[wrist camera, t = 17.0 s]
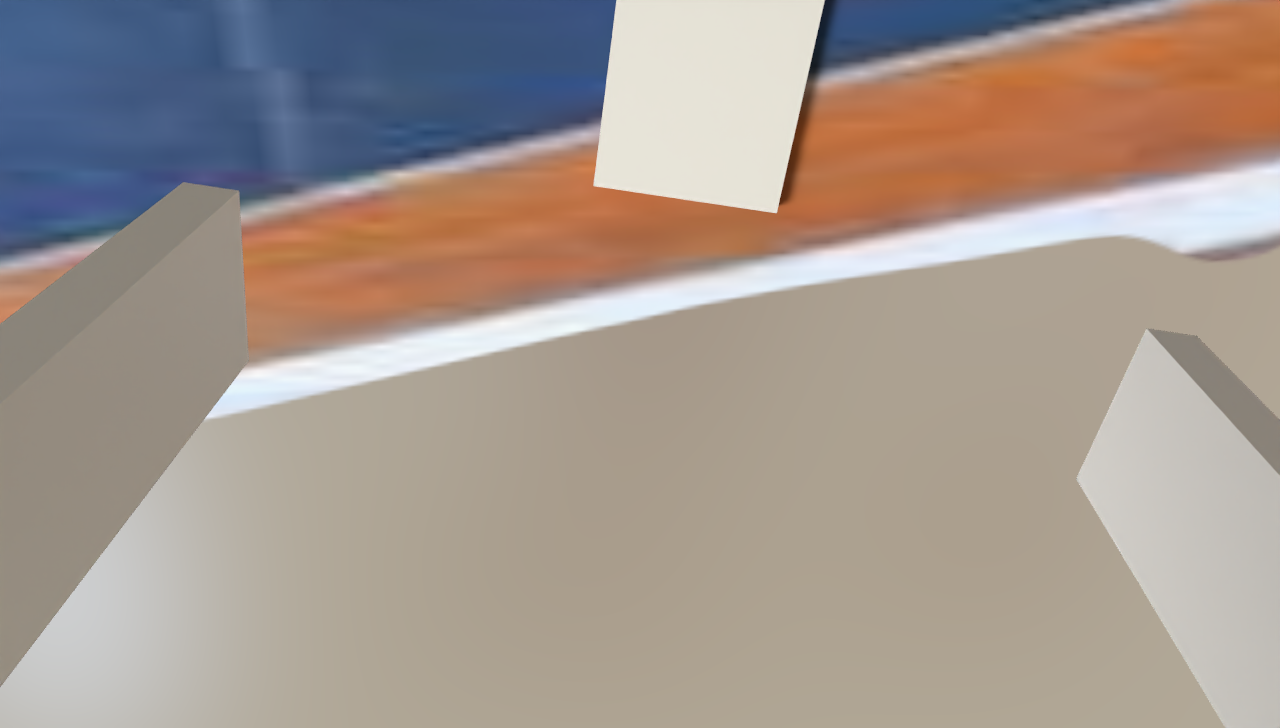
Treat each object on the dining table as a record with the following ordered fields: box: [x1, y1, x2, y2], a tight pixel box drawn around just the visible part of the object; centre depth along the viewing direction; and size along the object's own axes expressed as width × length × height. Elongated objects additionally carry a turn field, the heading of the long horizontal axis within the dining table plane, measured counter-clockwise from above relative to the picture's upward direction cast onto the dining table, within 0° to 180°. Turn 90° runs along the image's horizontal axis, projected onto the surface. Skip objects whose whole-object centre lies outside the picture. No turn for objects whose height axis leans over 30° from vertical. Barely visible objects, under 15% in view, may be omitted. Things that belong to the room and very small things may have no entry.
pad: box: [594, 0, 825, 213], centre depth 35 cm, size 7×10×1 cm
